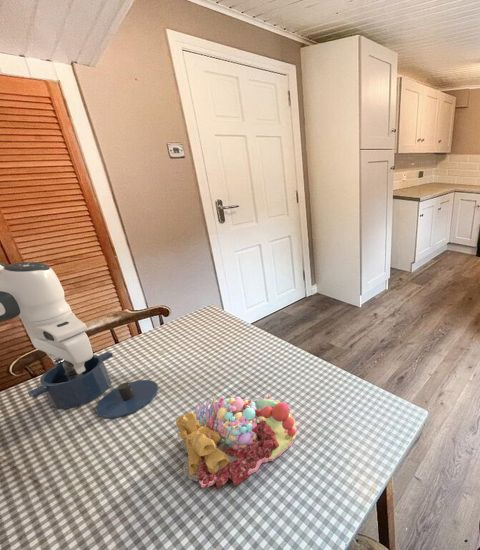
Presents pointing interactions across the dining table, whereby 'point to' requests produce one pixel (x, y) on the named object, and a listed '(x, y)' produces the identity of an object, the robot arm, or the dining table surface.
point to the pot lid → (127, 399)
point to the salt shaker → (70, 370)
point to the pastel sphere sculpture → (234, 438)
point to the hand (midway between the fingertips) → (69, 367)
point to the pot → (75, 384)
